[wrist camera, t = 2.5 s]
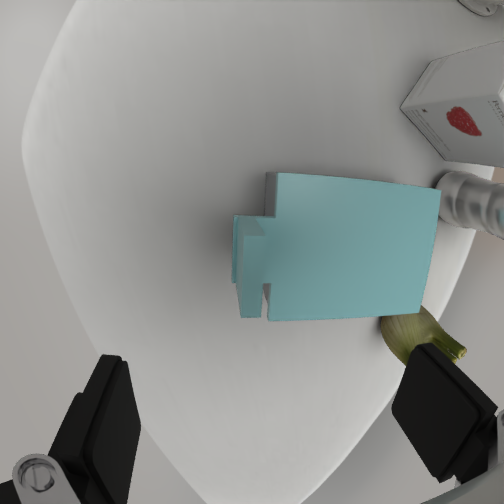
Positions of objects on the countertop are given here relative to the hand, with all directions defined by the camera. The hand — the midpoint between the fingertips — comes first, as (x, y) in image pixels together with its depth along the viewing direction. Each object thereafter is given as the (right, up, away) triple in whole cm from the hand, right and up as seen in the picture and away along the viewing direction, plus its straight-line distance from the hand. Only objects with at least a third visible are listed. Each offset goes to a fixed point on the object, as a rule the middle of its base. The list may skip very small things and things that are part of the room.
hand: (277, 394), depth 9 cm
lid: (+6, +5, +17) cm, 18 cm away
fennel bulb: (+17, -3, +27) cm, 32 cm away
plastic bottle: (+22, +11, +23) cm, 34 cm away
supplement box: (+21, +21, +20) cm, 36 cm away
